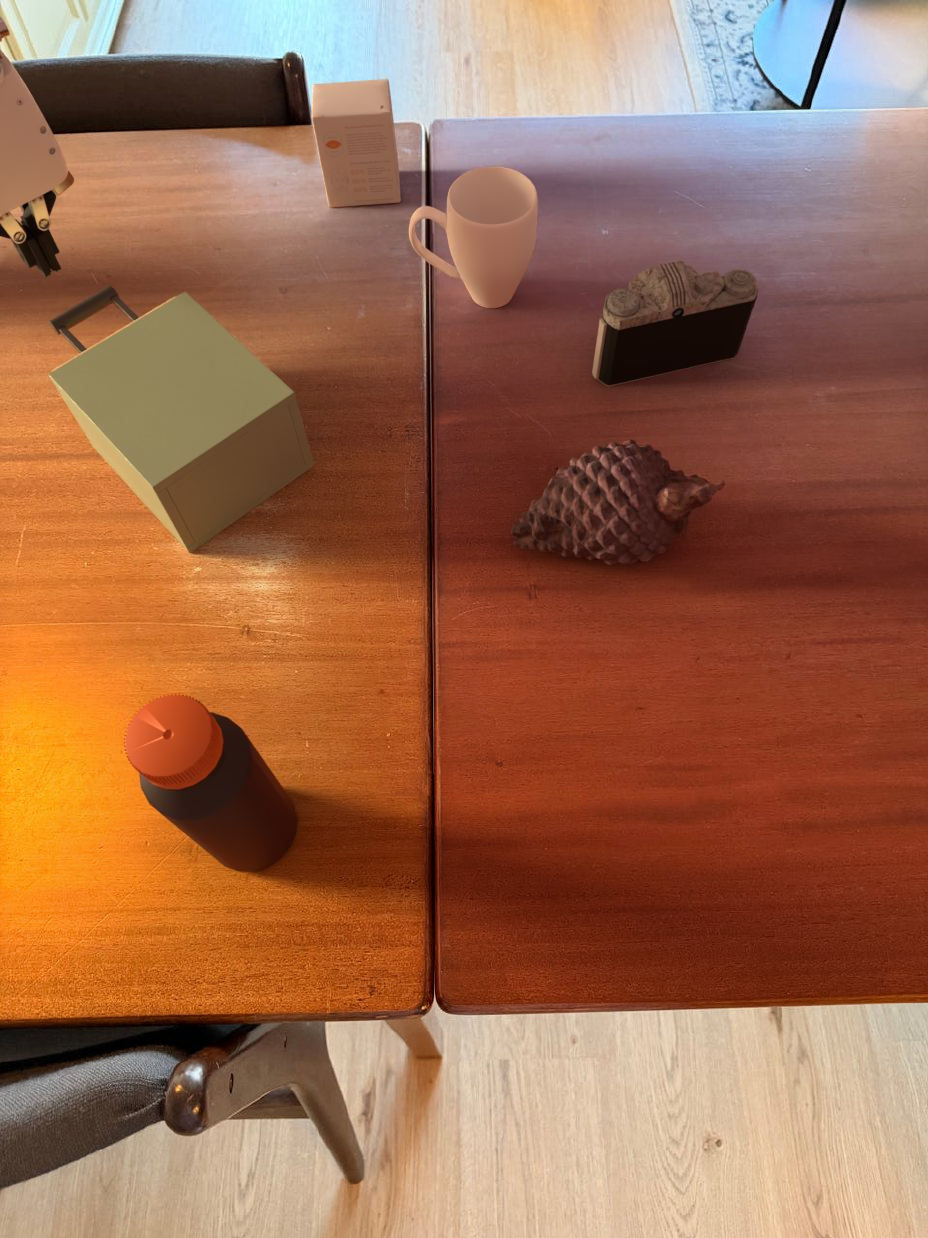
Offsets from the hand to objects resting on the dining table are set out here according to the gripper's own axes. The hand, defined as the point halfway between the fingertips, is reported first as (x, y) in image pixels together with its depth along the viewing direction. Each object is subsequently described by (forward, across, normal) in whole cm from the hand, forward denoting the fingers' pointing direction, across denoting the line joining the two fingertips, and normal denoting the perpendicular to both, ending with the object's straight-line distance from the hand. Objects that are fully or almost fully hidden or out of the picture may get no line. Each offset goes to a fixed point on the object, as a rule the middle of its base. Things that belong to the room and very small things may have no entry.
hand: (45, 264), depth 81 cm
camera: (+8, -41, +40) cm, 57 cm away
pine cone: (+8, -22, +51) cm, 56 cm away
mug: (+9, -33, +22) cm, 40 cm away
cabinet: (+9, -1, +20) cm, 22 cm away
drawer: (+8, -1, +14) cm, 17 cm away
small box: (+9, -35, +2) cm, 36 cm away
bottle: (+9, +16, +51) cm, 54 cm away
